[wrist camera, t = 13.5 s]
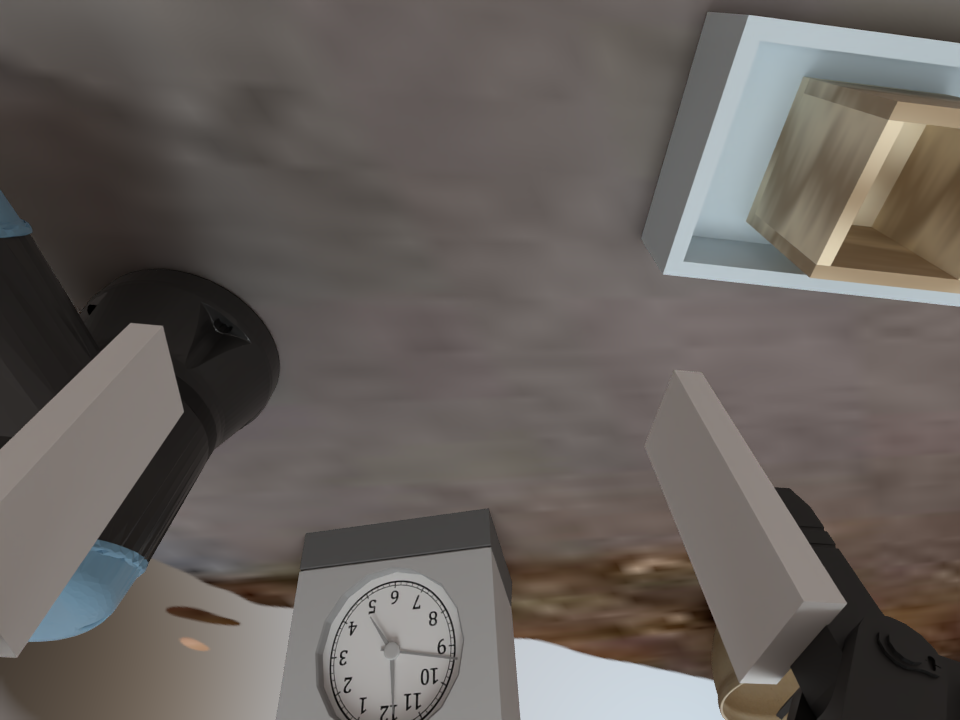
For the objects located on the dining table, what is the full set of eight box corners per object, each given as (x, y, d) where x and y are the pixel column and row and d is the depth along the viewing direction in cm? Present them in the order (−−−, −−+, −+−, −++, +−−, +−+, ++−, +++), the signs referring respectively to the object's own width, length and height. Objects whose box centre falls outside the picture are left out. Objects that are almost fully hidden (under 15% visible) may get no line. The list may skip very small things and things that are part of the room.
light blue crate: (927, 270, 40) (989, 309, 35) (640, 238, 39) (662, 274, 34) (1061, 59, 32) (1165, 70, 27) (707, 11, 31) (748, 14, 26)
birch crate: (869, 234, 38) (963, 294, 30) (745, 221, 37) (809, 277, 30) (945, 94, 33) (1080, 123, 25) (803, 76, 32) (897, 101, 25)
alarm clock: (488, 507, 56) (488, 726, 39) (515, 593, 65) (524, 802, 48) (305, 532, 59) (233, 747, 42) (355, 611, 67) (311, 815, 51)
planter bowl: (666, 628, 68) (693, 724, 60) (733, 553, 60) (776, 652, 51) (777, 648, 71) (819, 743, 62) (857, 578, 62) (920, 677, 53)
